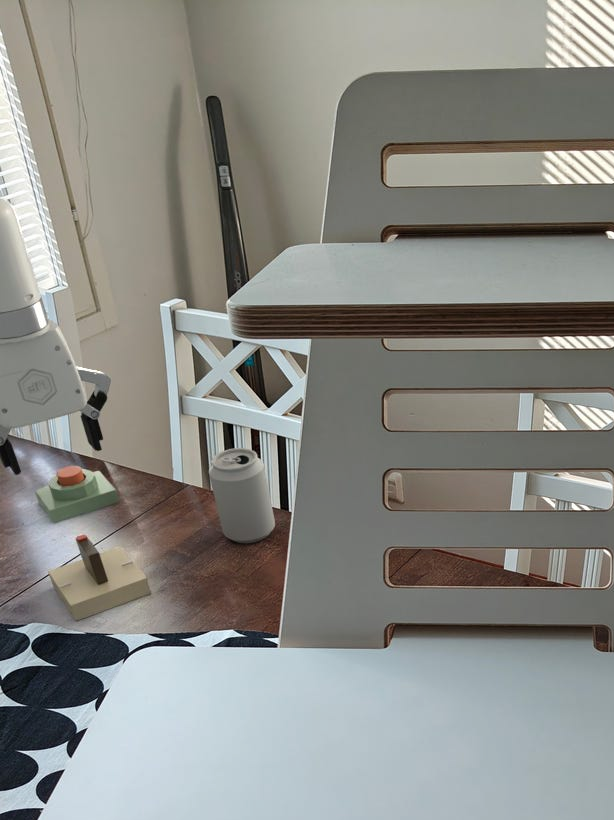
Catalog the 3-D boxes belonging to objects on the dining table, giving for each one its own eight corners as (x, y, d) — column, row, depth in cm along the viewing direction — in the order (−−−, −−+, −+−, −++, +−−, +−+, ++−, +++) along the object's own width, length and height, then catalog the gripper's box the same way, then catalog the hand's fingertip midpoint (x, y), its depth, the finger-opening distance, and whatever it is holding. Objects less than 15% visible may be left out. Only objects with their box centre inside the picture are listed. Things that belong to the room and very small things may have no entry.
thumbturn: (108, 581, 127) (98, 550, 124) (98, 585, 127) (87, 554, 124) (95, 563, 131) (85, 533, 128) (84, 566, 130) (74, 536, 127)
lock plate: (76, 621, 125) (70, 604, 123) (53, 586, 132) (47, 570, 130) (151, 593, 129) (146, 576, 128) (125, 561, 136) (120, 544, 134)
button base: (53, 523, 145) (45, 500, 142) (38, 502, 150) (30, 479, 148) (119, 502, 149) (112, 479, 147) (102, 482, 155) (95, 459, 152)
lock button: (63, 490, 146) (60, 479, 145) (56, 480, 148) (53, 470, 147) (87, 482, 147) (84, 472, 146) (80, 473, 150) (77, 463, 148)
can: (281, 538, 139) (266, 462, 132) (228, 551, 137) (210, 474, 130) (270, 514, 145) (255, 440, 137) (219, 525, 143) (202, 451, 135)
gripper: (-65, 347, 102) (-10, 492, 112) (99, 310, 110) (136, 449, 120) (-80, 327, 107) (-26, 468, 117) (78, 293, 114) (115, 428, 125)
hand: (56, 458), depth 119 cm, fingers open, 9 cm apart
